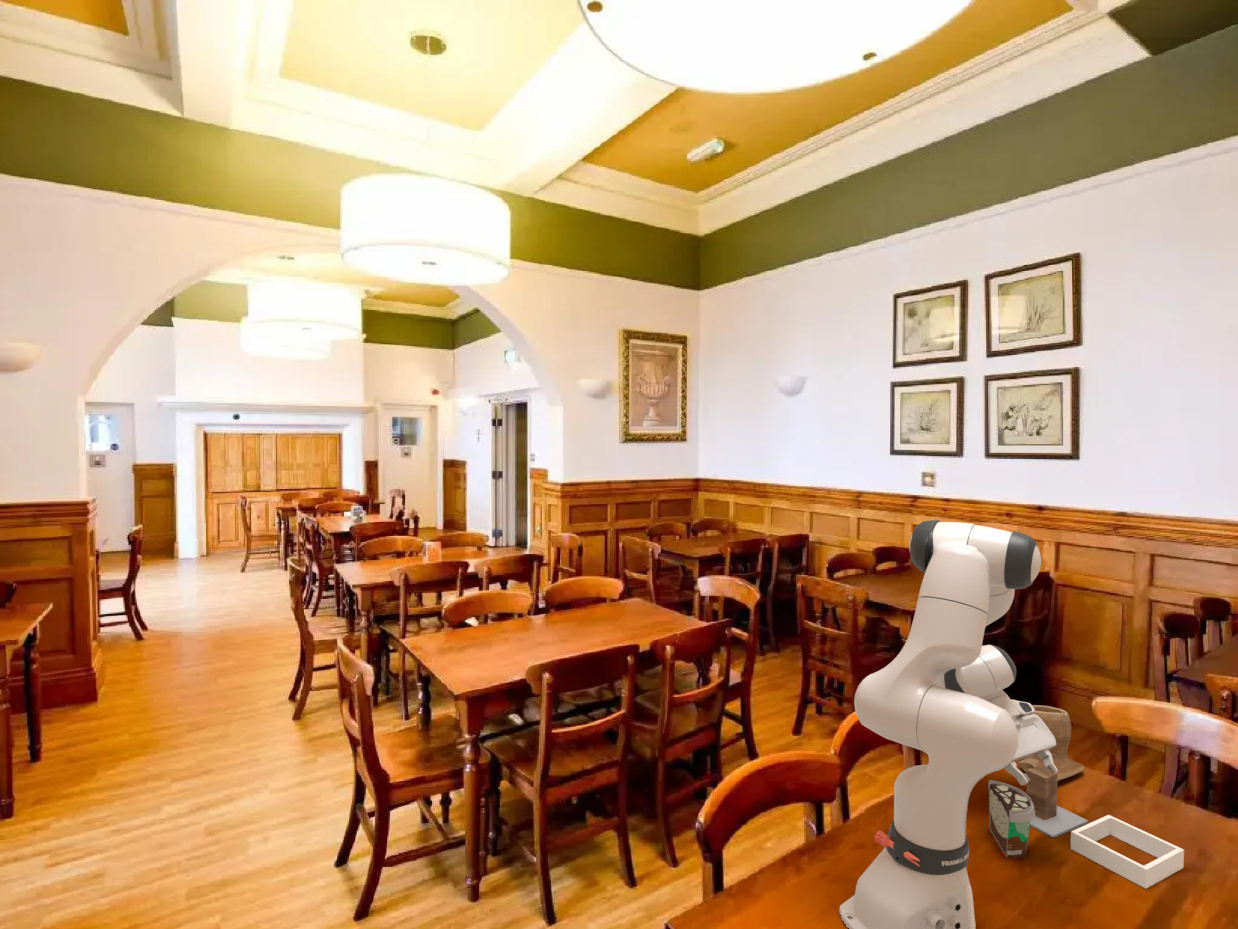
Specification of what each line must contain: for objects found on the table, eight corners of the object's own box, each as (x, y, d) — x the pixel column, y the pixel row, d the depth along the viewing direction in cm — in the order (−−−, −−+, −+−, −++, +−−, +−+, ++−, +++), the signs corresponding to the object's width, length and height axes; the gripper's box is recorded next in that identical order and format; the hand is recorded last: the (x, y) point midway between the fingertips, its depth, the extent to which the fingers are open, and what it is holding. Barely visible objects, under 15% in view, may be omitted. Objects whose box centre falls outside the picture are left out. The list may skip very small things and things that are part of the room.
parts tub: (1145, 888, 119) (1146, 869, 118) (1070, 849, 130) (1071, 831, 130) (1183, 868, 124) (1184, 849, 124) (1108, 831, 136) (1108, 814, 136)
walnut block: (1044, 820, 139) (1045, 778, 138) (1025, 811, 142) (1026, 770, 142) (1056, 815, 140) (1057, 774, 140) (1037, 806, 144) (1038, 765, 144)
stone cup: (1041, 754, 169) (1042, 695, 168) (1091, 775, 158) (1093, 713, 157) (1002, 767, 162) (1003, 706, 162) (1052, 790, 152) (1053, 725, 151)
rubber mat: (1053, 838, 133) (1053, 836, 133) (996, 808, 144) (996, 806, 144) (1088, 822, 139) (1088, 820, 139) (1030, 795, 150) (1030, 792, 150)
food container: (1045, 867, 125) (1046, 815, 124) (1009, 863, 126) (1010, 811, 125) (1019, 829, 137) (1020, 781, 136) (987, 825, 138) (988, 778, 138)
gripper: (976, 719, 143) (1019, 785, 135) (1035, 702, 152) (1079, 762, 144) (957, 731, 147) (998, 795, 139) (1016, 714, 156) (1058, 773, 148)
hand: (1040, 778), depth 141 cm, fingers open, 8 cm apart
